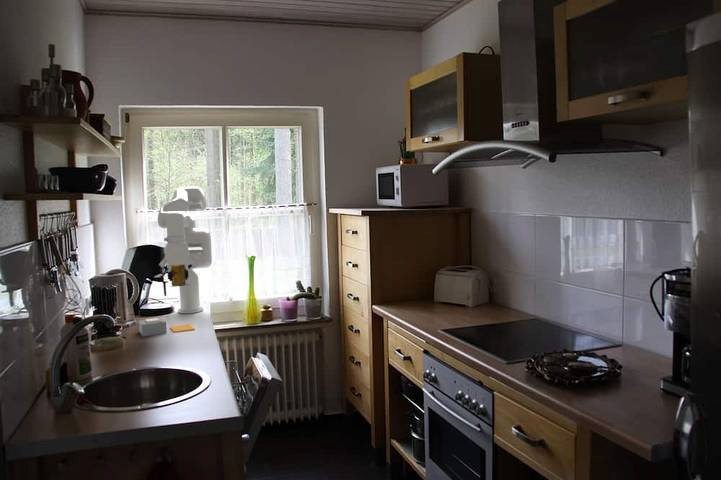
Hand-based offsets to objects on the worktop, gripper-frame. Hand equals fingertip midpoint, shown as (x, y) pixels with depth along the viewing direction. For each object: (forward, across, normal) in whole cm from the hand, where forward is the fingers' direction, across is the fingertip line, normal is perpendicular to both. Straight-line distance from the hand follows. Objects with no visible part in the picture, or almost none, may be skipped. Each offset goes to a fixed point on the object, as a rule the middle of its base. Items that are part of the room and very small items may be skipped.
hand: (178, 279), depth 269 cm
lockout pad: (+22, 0, -2) cm, 22 cm away
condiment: (+3, +1, 0) cm, 3 cm away
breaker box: (+22, -12, -1) cm, 25 cm away
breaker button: (+20, -12, -1) cm, 24 cm away
